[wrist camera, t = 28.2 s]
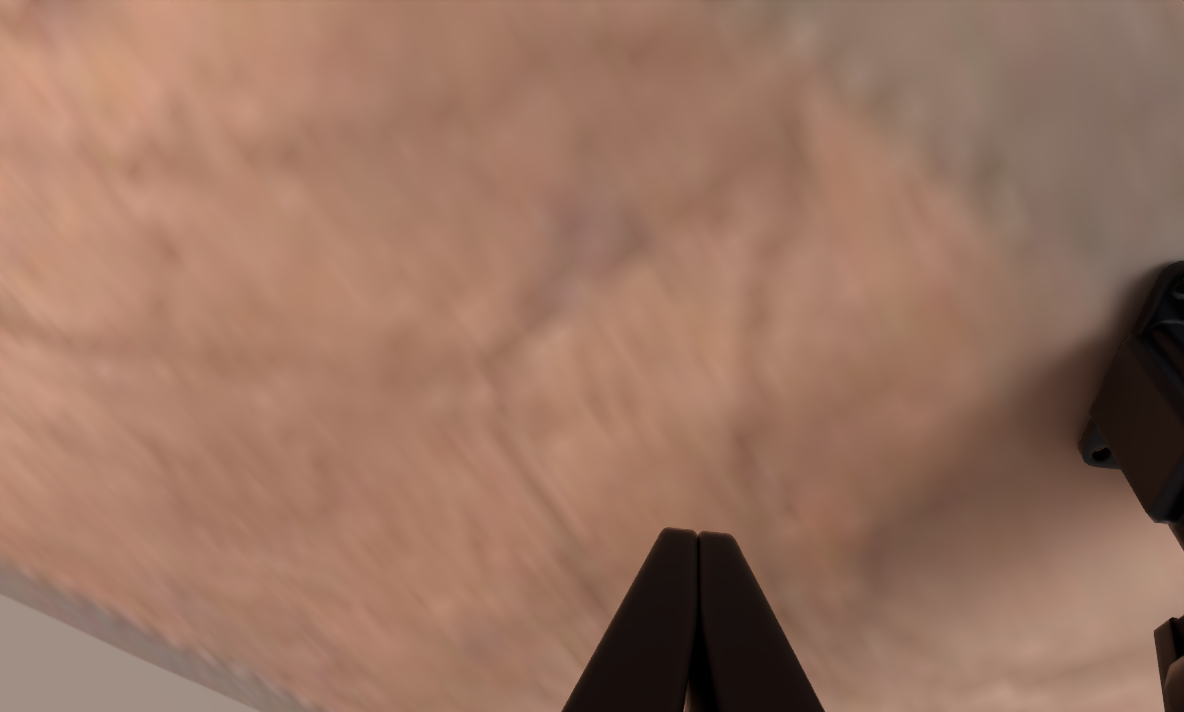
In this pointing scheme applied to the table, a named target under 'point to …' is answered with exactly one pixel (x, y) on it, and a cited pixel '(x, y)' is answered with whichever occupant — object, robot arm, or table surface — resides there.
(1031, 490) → the table surface
